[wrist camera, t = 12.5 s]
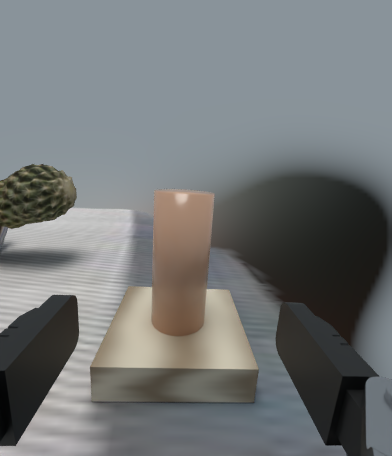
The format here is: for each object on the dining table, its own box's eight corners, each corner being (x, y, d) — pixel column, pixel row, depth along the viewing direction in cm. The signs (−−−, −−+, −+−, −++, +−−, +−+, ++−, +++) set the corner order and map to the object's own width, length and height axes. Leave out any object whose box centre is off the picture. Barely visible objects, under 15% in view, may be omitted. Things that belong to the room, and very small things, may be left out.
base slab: (91, 401, 17) (90, 367, 17) (128, 309, 29) (128, 286, 28) (253, 402, 18) (258, 369, 18) (226, 311, 30) (228, 289, 29)
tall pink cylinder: (147, 335, 20) (150, 192, 18) (154, 303, 25) (157, 187, 22) (206, 337, 21) (218, 196, 18) (202, 305, 25) (211, 191, 23)
